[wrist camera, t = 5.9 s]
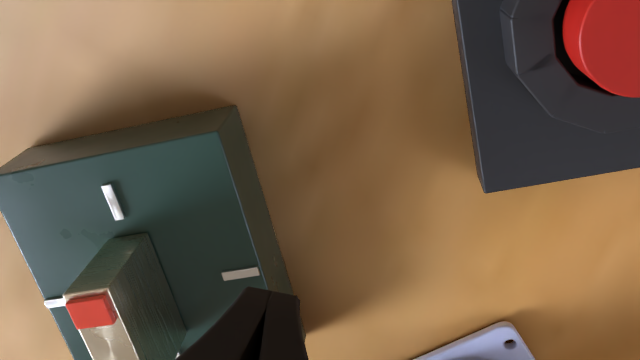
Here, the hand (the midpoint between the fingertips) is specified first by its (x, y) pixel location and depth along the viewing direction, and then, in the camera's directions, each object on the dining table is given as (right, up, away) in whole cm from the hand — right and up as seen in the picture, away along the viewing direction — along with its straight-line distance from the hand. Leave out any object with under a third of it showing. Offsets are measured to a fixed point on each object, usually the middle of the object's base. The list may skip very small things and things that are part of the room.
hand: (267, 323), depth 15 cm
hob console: (-5, +1, +11) cm, 12 cm away
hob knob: (-5, -1, +8) cm, 10 cm away
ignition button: (+10, +8, +3) cm, 13 cm away
